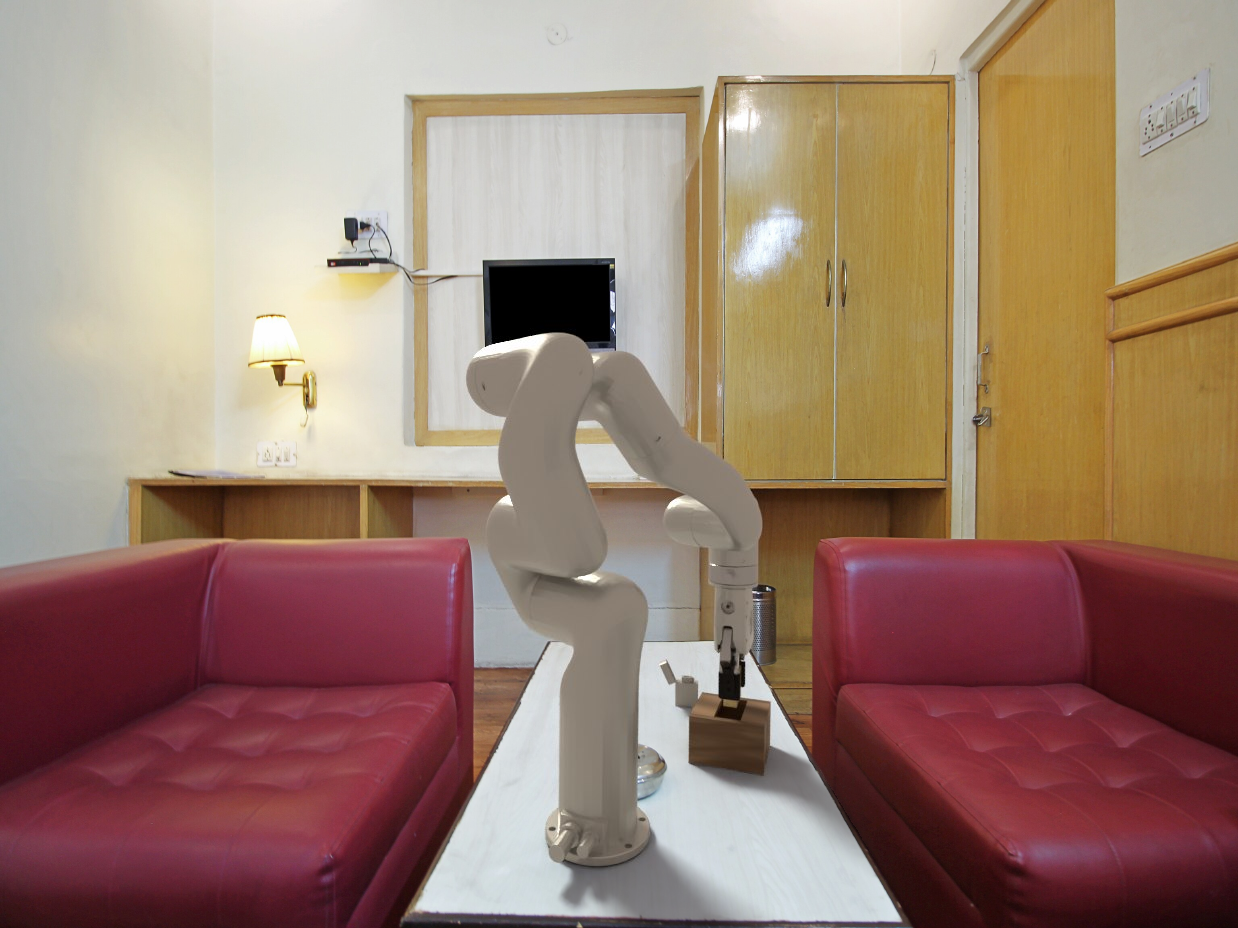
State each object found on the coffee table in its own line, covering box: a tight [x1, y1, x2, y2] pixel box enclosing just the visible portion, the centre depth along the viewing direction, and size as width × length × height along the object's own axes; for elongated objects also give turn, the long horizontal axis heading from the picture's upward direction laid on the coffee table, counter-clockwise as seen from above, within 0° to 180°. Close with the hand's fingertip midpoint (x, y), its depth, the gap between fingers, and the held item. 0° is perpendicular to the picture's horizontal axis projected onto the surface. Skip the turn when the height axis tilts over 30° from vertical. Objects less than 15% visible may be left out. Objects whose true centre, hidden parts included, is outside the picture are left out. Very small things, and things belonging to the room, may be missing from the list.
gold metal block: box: [723, 664, 742, 708], centre depth 95 cm, size 5×2×5 cm, turn 161°
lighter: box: [659, 659, 699, 708], centre depth 114 cm, size 7×2×8 cm, turn 82°
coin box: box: [687, 691, 772, 776], centre depth 95 cm, size 10×11×7 cm
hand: (732, 691), depth 95 cm, fingers closed on gold metal block, 4 cm apart
